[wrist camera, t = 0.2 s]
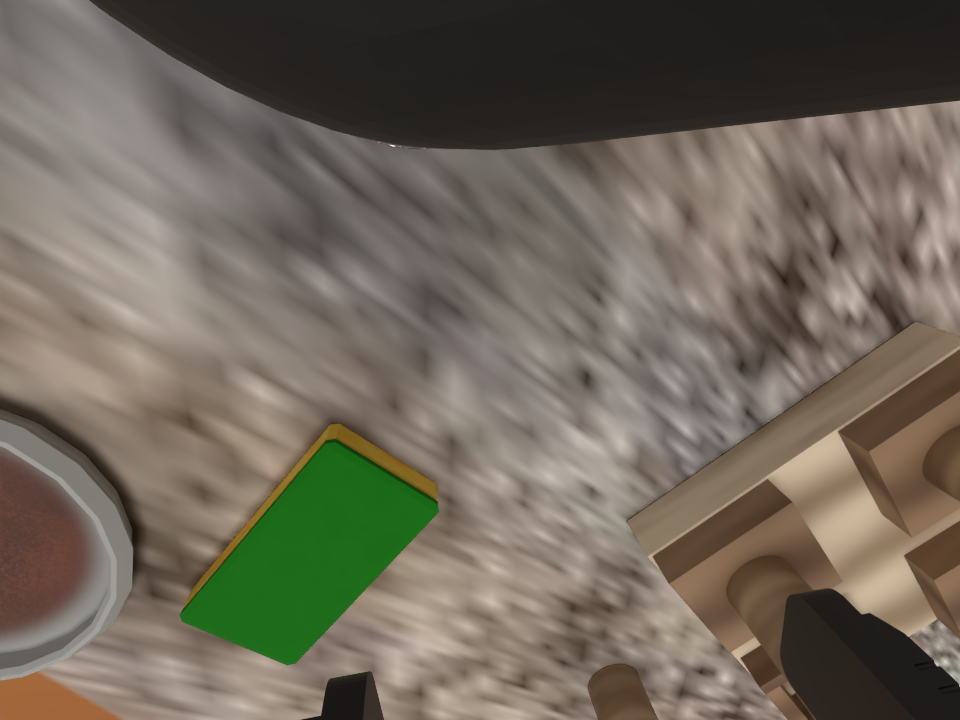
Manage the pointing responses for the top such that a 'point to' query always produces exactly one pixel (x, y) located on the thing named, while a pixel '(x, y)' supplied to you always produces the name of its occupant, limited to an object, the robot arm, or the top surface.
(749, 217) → the top surface
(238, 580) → the dish sponge
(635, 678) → the stool leg
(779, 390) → the top surface
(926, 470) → the stool seat
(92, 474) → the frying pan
